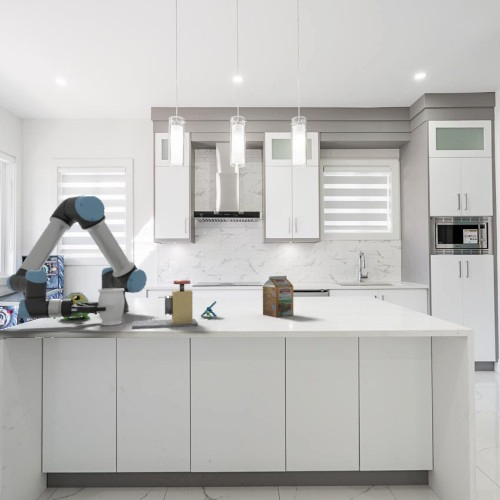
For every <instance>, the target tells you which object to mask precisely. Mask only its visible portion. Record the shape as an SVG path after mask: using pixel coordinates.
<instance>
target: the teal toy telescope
mask: <svg viewBox="0 0 500 500" xmlns="http://www.w3.org/2000/svg"><path fill="white" fill-rule="evenodd" d="M216 304H217V301H214V302H213V303H212V304H211V305H210V306H207V307H206V310H204V311H203V313H202V314H201V315H200V317H201V318H202V317H204V316H205V315H206V316H208V317H210V319H213V318H214V317H215V318H216V317H218V316H217V314H216V313H215V312H214V311H213V309H212V308H213V306H214V305H216ZM211 314H212V315H213V316H212V315H211Z"/></svg>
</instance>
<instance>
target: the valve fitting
mask: <svg viewBox="0 0 500 500" xmlns="http://www.w3.org/2000/svg"><path fill="white" fill-rule="evenodd" d="M190 284H191V280H187V279H186V280H185V279H184V280H181V279H180V280H173V285H179V289H172V290H171V295H165V296H164V316H171V318H170V319H152V320H151V319H149V320H133V321H132V324H131V329H133V330H136V329H153V328H155V329H156V328H179V327H197V326H199V323H198V321H197V319H195V318H193V290H192V289H185V285H190Z"/></svg>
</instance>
